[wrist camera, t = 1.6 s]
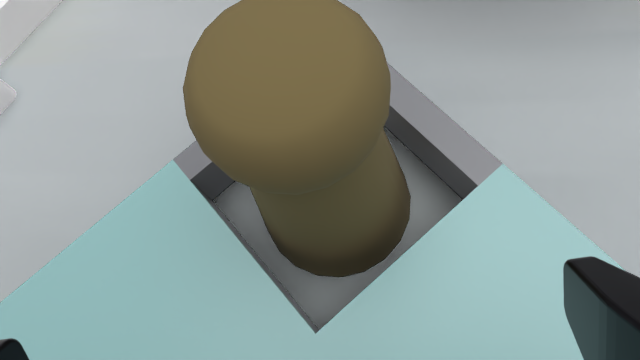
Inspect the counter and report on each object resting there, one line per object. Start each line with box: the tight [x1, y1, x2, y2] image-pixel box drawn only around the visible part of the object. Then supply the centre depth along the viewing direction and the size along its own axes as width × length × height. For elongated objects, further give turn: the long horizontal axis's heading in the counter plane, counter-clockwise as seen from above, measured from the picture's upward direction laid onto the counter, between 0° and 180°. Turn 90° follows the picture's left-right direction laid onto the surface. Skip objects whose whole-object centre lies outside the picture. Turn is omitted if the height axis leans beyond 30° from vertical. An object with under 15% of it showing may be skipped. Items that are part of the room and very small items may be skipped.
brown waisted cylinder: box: [183, 0, 410, 277], centre depth 17 cm, size 6×6×11 cm
